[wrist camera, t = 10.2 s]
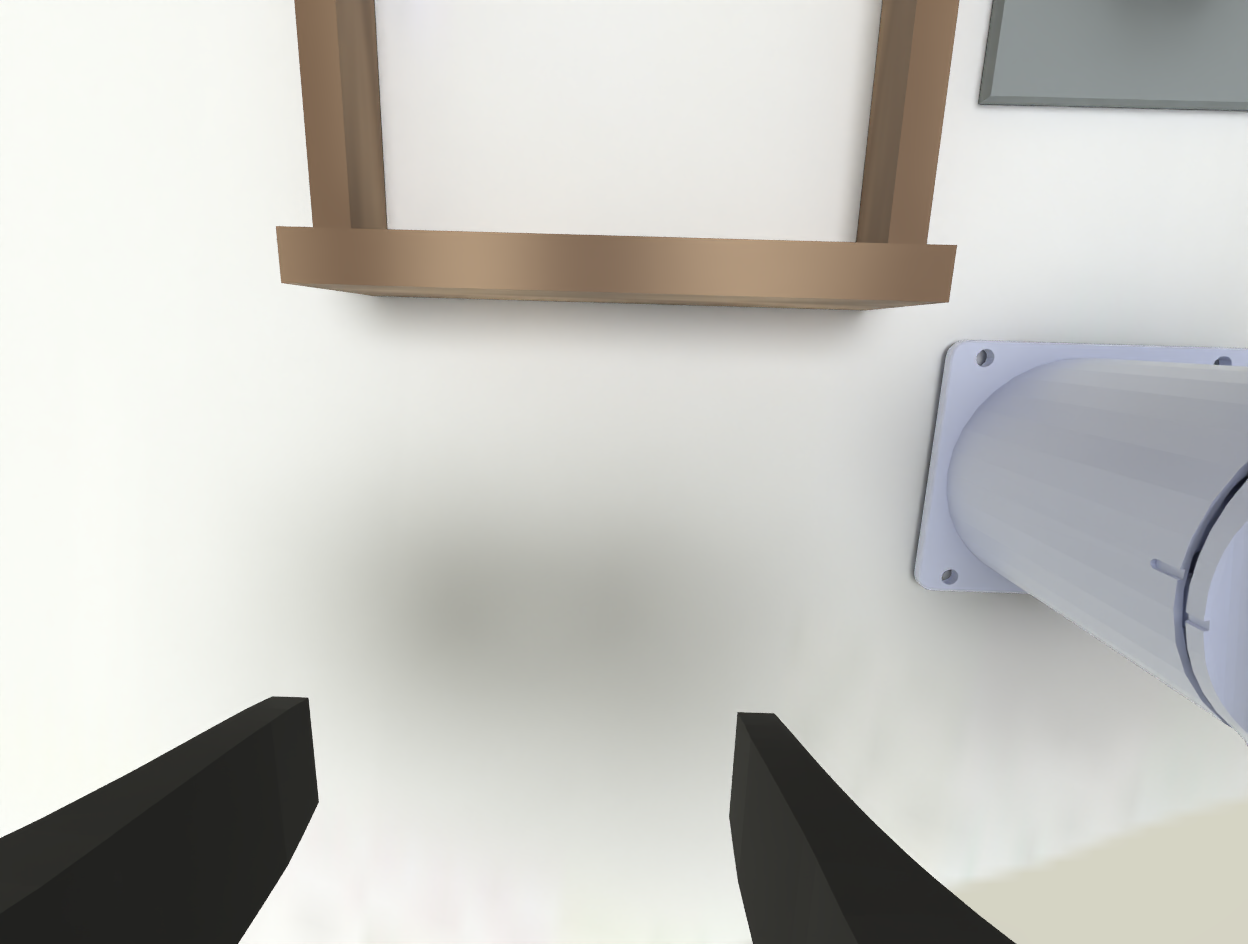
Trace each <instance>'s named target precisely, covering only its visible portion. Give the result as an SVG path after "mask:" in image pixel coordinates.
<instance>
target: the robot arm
mask: <svg viewBox="0 0 1248 944" xmlns="http://www.w3.org/2000/svg"><path fill="white" fill-rule="evenodd" d="M981 350H984V351H985V352H986V353H987V359H986V361H985V363H983V364H982V365H981V366H979V364H978V363H977V359H976V357H977V355H978V353H979V352H980V351H981ZM1217 359H1219V365H1214V363H1215V361H1216V360H1217ZM951 569H952V574H951V576H950V577H949V578H948V579H945V580H942V575H943V573H944V572H945V571H947V570H951ZM914 576H915V579H916V581H917V582H918V583H919V584H920V585H921V586H922V587H924V588H925V589H928V590H938V591H967V592H996V593H1026V594H1030V595H1032V596H1033V597H1035V598H1036V599H1038V600H1039V601H1041V602H1043V603H1044V604H1046V605H1047V606H1049V607H1050V608H1052V609H1053V610H1055V611H1056V612H1058V613H1059V614H1061V615H1062V616H1064V617H1065V618H1067V619H1068V620H1070V621H1071V622H1073V623H1074V624H1076V625H1077V626H1079V627H1080V628H1082V629H1083V630H1085V631H1086V632H1088V633H1089V634H1091V635H1092V636H1094V637H1095V638H1097V639H1098V640H1100V641H1101V642H1103V643H1104V644H1106V645H1107V646H1109V647H1110V648H1112V649H1113V650H1115V651H1116V652H1118V653H1119V654H1121V655H1122V656H1124V657H1125V658H1127V659H1128V660H1130V661H1131V662H1133V663H1134V664H1136V665H1137V666H1139V667H1140V668H1142V669H1144V670H1145V671H1147V672H1148V673H1150V674H1151V675H1153V676H1154V677H1156V678H1157V679H1159V680H1160V681H1162V682H1163V683H1165V684H1166V685H1168V686H1169V687H1171V688H1172V689H1174V690H1175V691H1177V692H1178V693H1180V694H1181V695H1183V696H1184V697H1186V698H1187V699H1189V700H1190V701H1192V702H1193V703H1195V704H1196V705H1198V706H1199V707H1201V708H1202V709H1204V710H1205V711H1207V712H1208V713H1210V714H1211V715H1213V716H1214V717H1216V718H1217V719H1219V720H1220V721H1222V722H1223V723H1225V724H1227V725H1228V726H1230V727H1232V728H1233V729H1234V730H1235V731H1236V732H1237V733H1238V734H1239V735H1240V736H1241V737H1242V738H1243V739H1244V741H1245V742H1246V744H1247V746H1248V349H1246V348H1212V347H1179V346H1145V345H1111V344H1077V343H1044V342H1010V341H976V340H963V341H958V342H956V343H955V344H953V345H952V346H951V347H950V348H949V350H948V352H947V355H946V359H945V366H944V373H943V380H942V386H941V393H940V400H939V407H938V414H937V420H936V427H935V434H934V441H933V448H932V454H931V461H930V468H929V475H928V482H927V488H926V495H925V502H924V509H923V516H922V522H921V529H920V536H919V543H918V550H917V556H916V563H915V570H914ZM318 803H319V799H318V789H317V779H316V769H315V759H314V749H313V739H312V729H311V719H310V709H309V699H308V698H302V697H273V696H272V697H270V698H268V699H266V700H264V701H262V702H259V703H257V704H255V705H253V706H251V707H249V708H247V709H245V710H243V711H242V712H240V713H238V714H236V715H234V716H232V717H230V718H228V719H227V720H225V721H223V722H221V723H219V724H217V725H216V726H214V727H212V728H210V729H208V730H207V731H205V732H203V733H201V734H199V735H198V736H196V737H194V738H192V739H190V740H188V741H187V742H185V743H183V744H181V745H179V746H178V747H176V748H174V749H172V750H170V751H168V752H167V753H165V754H163V755H161V756H159V757H158V758H156V759H154V760H152V761H150V762H148V763H147V764H145V765H143V766H141V767H139V768H138V769H136V770H134V771H132V772H130V773H128V774H126V775H125V776H123V777H121V778H119V779H117V780H115V781H113V782H111V783H109V784H107V785H105V786H103V787H101V788H99V789H97V790H96V791H94V792H92V793H90V794H88V795H86V796H84V797H82V798H80V799H78V800H76V801H74V802H72V803H70V804H68V805H66V806H65V807H63V808H61V809H59V810H57V811H55V812H53V813H51V814H49V815H47V816H45V817H43V818H41V819H39V820H37V821H35V822H33V823H31V824H29V825H27V826H25V827H23V828H21V829H19V830H16V831H14V832H12V833H10V834H8V835H6V836H4V837H2V838H0V944H238V943H239V941H240V940H241V938H242V937H243V935H244V934H245V932H246V931H247V929H248V928H249V926H250V924H251V923H252V921H253V920H254V918H255V917H256V915H257V914H258V912H259V910H260V909H261V907H262V906H263V904H264V902H265V901H266V899H267V898H268V896H269V895H270V893H271V891H272V890H273V888H274V887H275V885H276V884H277V882H278V880H279V879H280V877H281V876H282V874H283V872H284V871H285V869H286V867H287V866H288V864H289V862H290V860H291V858H292V856H293V854H294V852H295V850H296V848H297V846H298V844H299V842H300V840H301V838H302V836H303V834H304V832H305V830H306V828H307V826H308V824H309V822H310V820H311V817H312V815H313V813H314V811H315V809H316V807H317V805H318ZM729 818H730V826H731V834H732V841H733V849H734V856H735V863H736V870H737V877H738V883H739V887H740V892H741V896H742V900H743V904H744V908H745V912H746V917H747V921H748V925H749V929H750V933H751V937H752V941H753V944H1016V943H1014V942H1013V941H1012V940H1010V939H1009V938H1008V937H1006V936H1005V935H1004V934H1002V933H1001V932H1000V931H999V930H997V929H996V928H995V927H993V926H992V925H991V924H990V923H988V922H987V921H986V920H985V919H983V918H982V917H981V916H979V915H978V914H977V913H976V912H974V911H973V910H972V909H971V908H970V907H968V906H967V905H966V904H965V903H964V902H962V901H961V900H960V899H959V898H958V897H957V896H955V895H954V894H953V893H952V892H951V891H949V890H948V889H947V888H946V887H944V886H943V885H942V884H941V883H940V882H938V881H937V880H936V879H935V878H934V877H932V876H931V875H930V874H929V873H928V872H927V871H926V870H925V869H923V868H922V867H921V866H920V865H919V864H918V863H917V862H916V861H914V860H913V859H912V858H911V857H910V856H909V855H908V854H907V853H906V852H905V851H904V850H903V849H901V848H900V847H899V846H898V845H897V844H896V843H895V842H894V841H893V840H892V839H891V838H890V837H889V836H888V835H887V834H886V833H885V832H884V831H882V830H881V829H880V828H879V827H878V826H877V825H876V824H875V823H874V822H873V821H872V820H871V819H870V818H869V817H868V816H867V815H866V814H865V813H864V812H863V811H862V810H861V809H860V808H859V807H858V806H857V805H856V804H855V803H854V801H853V800H852V799H851V798H850V797H849V796H848V795H847V794H846V793H845V792H844V791H843V790H842V789H841V788H840V787H839V786H838V785H837V784H836V782H835V781H834V780H833V779H832V778H831V777H830V776H829V775H828V774H827V773H826V772H825V770H824V769H823V768H822V767H821V766H820V765H819V764H818V763H817V761H816V760H815V759H814V758H813V757H812V756H811V755H810V754H809V752H808V751H807V750H806V749H805V748H804V747H803V746H802V744H801V743H800V742H799V741H798V740H797V739H796V738H795V736H794V735H793V734H792V733H791V732H790V731H789V729H788V728H787V727H786V726H785V725H784V724H783V723H782V722H781V720H780V719H779V718H778V717H777V716H776V715H775V714H774V713H744V712H738V714H737V727H736V739H735V751H734V764H733V776H732V789H731V801H730V813H729Z"/></svg>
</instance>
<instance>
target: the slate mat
mask: <svg viewBox="0 0 1248 944" xmlns="http://www.w3.org/2000/svg"><path fill="white" fill-rule="evenodd" d="M979 104H1005V105H1045V106H1085V107H1125V108H1164V109H1204V110H1244V111H1248V0H994V1H993V8H992V15H991V22H990V29H989V35H988V42H987V49H986V56H985V63H984V70H983V77H982V84H981V90H980V97H979Z"/></svg>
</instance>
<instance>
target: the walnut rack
mask: <svg viewBox="0 0 1248 944" xmlns="http://www.w3.org/2000/svg"><path fill="white" fill-rule="evenodd" d="M294 1H295V13H296V25H297V37H298V50H299V62H300V74H301V86H302V98H303V110H304V123H305V135H306V147H307V159H308V171H309V183H310V196H311V208H312V220H313V227H284V226H276V232H277V243H278V253H279V264H280V274H281V283H286V284H293V285H300V286H307V287H314V288H322V289H329V290H336V291H343V292H350V293H357V294H364V295H372V296H394V297H429V298H463V299H497V300H532V301H566V302H600V303H635V304H669V305H703V306H738V307H772V308H806V309H841V310H873V309H883V308H894V307H904V306H914V305H925V304H935V303H945V302H949V297H950V290H951V283H952V276H953V269H954V262H955V255H956V249H957V245H930V244H927V237H928V230H929V222H930V215H931V207H932V200H933V192H934V185H935V178H936V170H937V163H938V155H939V148H940V140H941V133H942V125H943V118H944V111H945V103H946V96H947V88H948V81H949V73H950V66H951V58H952V51H953V44H954V36H955V29H956V21H957V14H958V6H959V0H883V3H882V12H881V21H880V30H879V40H878V49H877V58H876V67H875V76H874V85H873V94H872V104H871V113H870V122H869V131H868V140H867V149H866V158H865V168H864V177H863V186H862V195H861V204H860V213H859V222H858V232H857V241H856V242H822V241H786V240H750V239H715V238H679V237H643V236H607V235H571V234H535V233H499V232H463V231H427V230H391V229H387V221H386V203H385V185H384V167H383V150H382V132H381V114H380V96H379V78H378V61H377V43H376V25H375V7H374V0H294Z"/></svg>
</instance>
